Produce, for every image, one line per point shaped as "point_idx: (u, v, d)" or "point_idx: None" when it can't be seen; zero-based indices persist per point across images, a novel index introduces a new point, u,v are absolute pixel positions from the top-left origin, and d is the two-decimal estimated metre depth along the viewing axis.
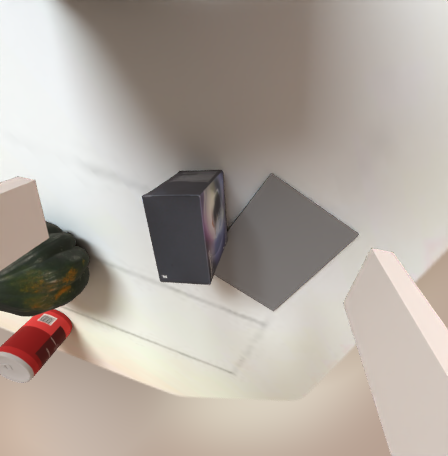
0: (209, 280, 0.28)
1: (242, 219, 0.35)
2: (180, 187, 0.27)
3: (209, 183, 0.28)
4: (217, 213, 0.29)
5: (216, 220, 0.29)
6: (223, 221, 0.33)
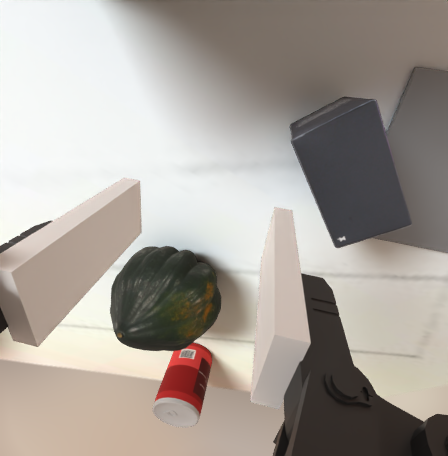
0: (409, 219, 0.20)
1: None
2: (327, 116, 0.20)
3: (359, 98, 0.21)
4: None
5: None
6: None
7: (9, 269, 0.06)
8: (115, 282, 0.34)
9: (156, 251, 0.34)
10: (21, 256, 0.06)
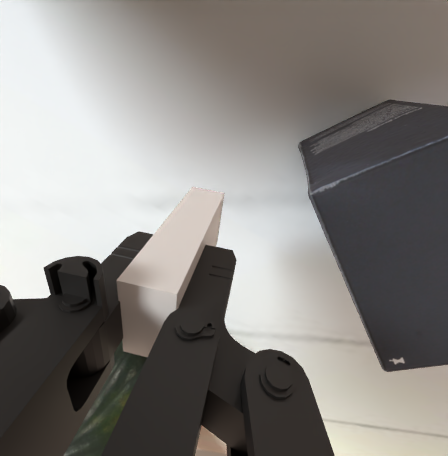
0: None
1: None
2: (379, 140, 0.10)
3: None
4: None
5: None
6: None
7: (144, 284, 0.06)
8: None
9: None
10: (146, 270, 0.07)
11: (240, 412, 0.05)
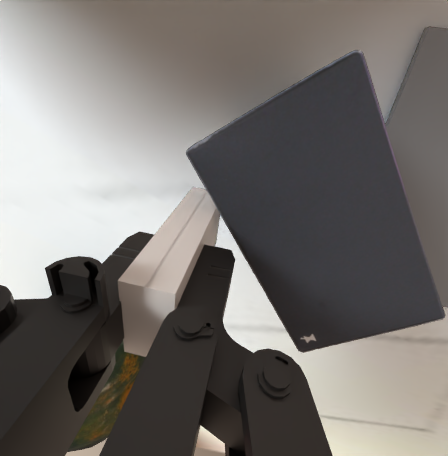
0: (440, 308, 0.10)
1: None
2: None
3: None
4: None
5: None
6: None
7: (145, 285, 0.06)
8: None
9: None
10: (147, 271, 0.07)
11: (237, 412, 0.05)
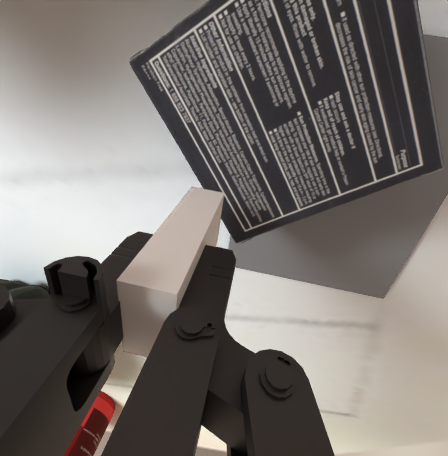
0: None
1: None
2: None
3: None
4: None
5: None
6: None
7: (144, 284, 0.06)
8: None
9: None
10: (146, 271, 0.07)
11: (239, 412, 0.05)
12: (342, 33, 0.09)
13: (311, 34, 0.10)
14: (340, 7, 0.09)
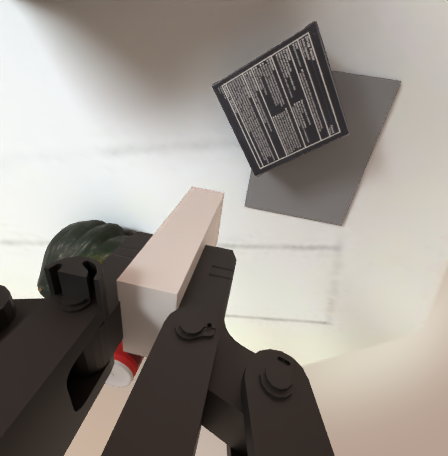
0: None
1: None
2: None
3: None
4: None
5: None
6: None
7: (144, 284, 0.06)
8: None
9: (82, 222, 0.39)
10: (146, 271, 0.07)
11: (239, 413, 0.05)
12: (302, 77, 0.24)
13: (290, 77, 0.24)
14: (300, 67, 0.24)
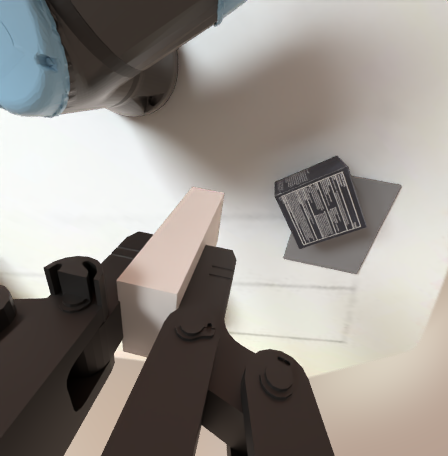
0: None
1: None
2: (323, 167, 0.38)
3: None
4: None
5: None
6: None
7: (144, 284, 0.06)
8: None
9: None
10: (146, 271, 0.07)
11: (240, 413, 0.05)
12: (336, 195, 0.36)
13: (328, 194, 0.37)
14: (336, 189, 0.36)
